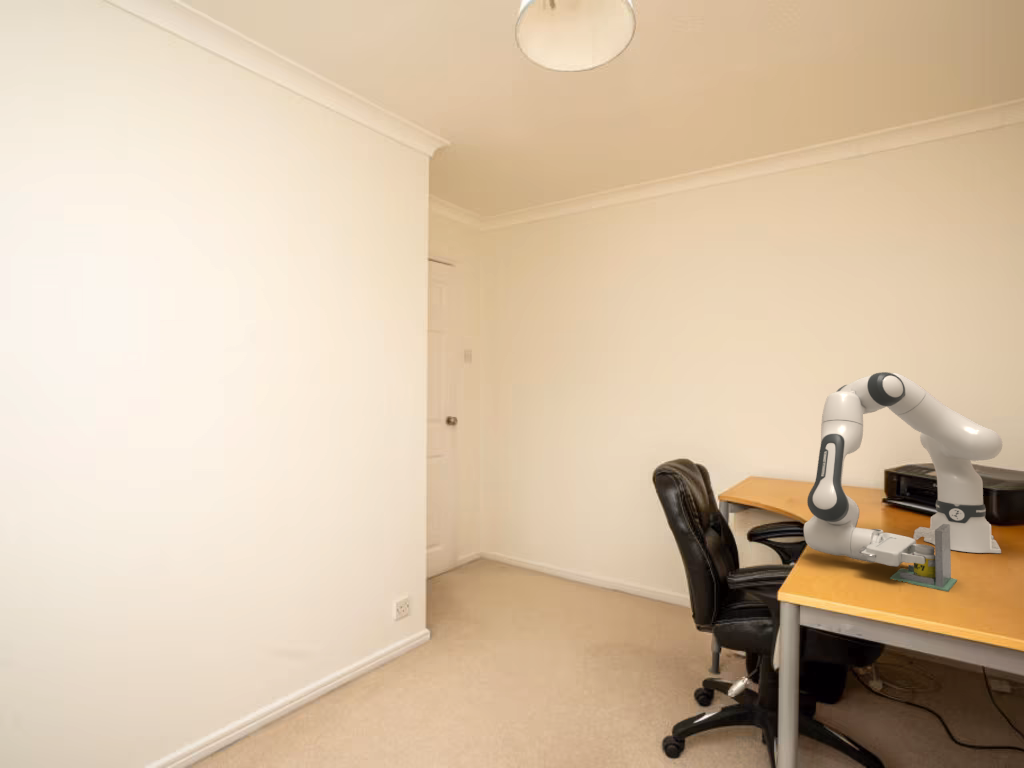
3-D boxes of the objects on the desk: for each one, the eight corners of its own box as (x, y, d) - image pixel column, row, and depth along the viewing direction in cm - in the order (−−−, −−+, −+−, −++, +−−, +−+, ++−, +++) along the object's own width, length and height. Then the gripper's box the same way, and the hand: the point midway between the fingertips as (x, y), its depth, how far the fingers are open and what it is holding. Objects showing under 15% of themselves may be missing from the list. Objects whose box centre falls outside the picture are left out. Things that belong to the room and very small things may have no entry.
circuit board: (901, 569, 148) (901, 568, 148) (956, 581, 139) (956, 579, 139) (890, 579, 140) (890, 577, 140) (948, 591, 131) (948, 589, 131)
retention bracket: (909, 570, 146) (908, 518, 146) (951, 578, 139) (949, 524, 139) (899, 578, 139) (898, 524, 139) (943, 587, 133) (941, 531, 133)
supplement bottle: (909, 575, 142) (908, 543, 142) (925, 575, 142) (925, 543, 142) (924, 582, 137) (923, 549, 137) (941, 581, 137) (941, 548, 137)
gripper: (855, 541, 142) (919, 552, 132) (877, 527, 156) (937, 537, 145) (855, 564, 142) (920, 578, 132) (878, 549, 156) (938, 560, 145)
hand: (929, 556), depth 139 cm, fingers open, 8 cm apart
